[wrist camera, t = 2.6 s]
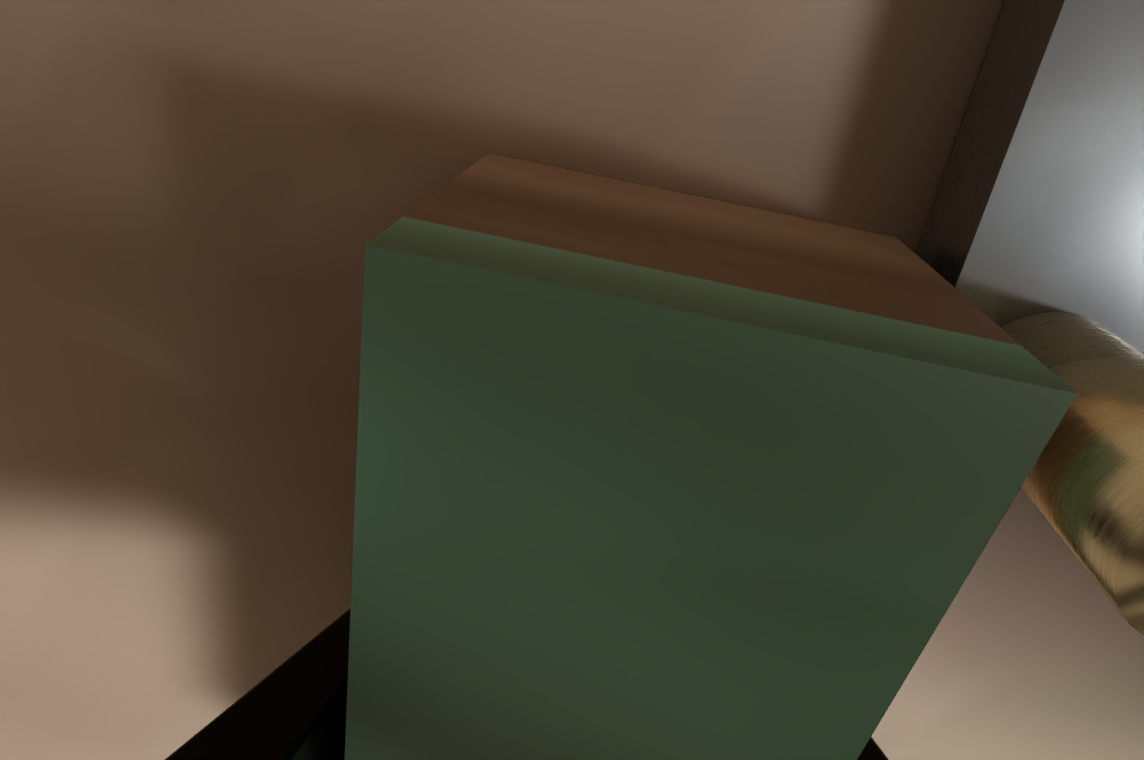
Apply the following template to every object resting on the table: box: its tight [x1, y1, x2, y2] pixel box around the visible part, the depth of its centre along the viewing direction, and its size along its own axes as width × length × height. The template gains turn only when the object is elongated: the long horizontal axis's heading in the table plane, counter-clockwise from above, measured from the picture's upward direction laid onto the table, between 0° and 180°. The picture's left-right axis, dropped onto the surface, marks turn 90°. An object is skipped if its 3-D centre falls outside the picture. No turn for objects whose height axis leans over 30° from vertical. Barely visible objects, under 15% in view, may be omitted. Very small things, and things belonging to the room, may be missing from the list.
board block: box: [345, 153, 1077, 760], centre depth 9 cm, size 12×5×4 cm, turn 170°
